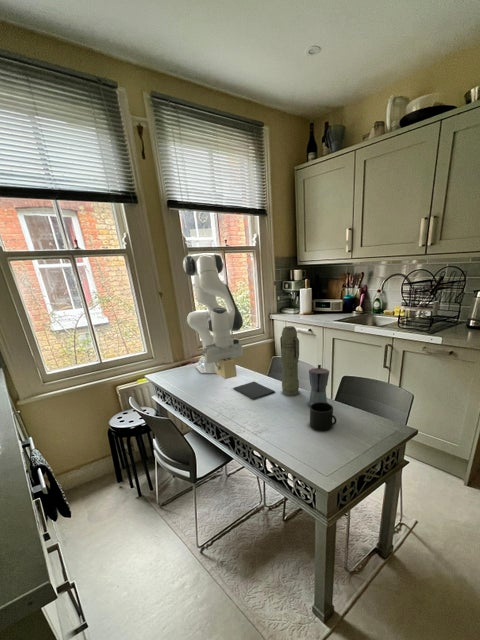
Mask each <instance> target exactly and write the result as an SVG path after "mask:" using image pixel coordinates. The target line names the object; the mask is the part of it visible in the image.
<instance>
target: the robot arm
mask: <svg viewBox="0 0 480 640" xmlns="http://www.w3.org/2000/svg"><path fill="white" fill-rule="evenodd" d="M182 267H183V270H184V272H185V274H186V275H187V276H191V277H193V282H194V290H195V291H194V292H195V298H196V301H197V302H198V303H199V304H201V305H203V306H206V308H207V309H204V310H203V309H202V310H195V311H191V312H189V313H188V314H187V317H186V322H187V325H188V326H189V328H191V329H192V330H194V331H195V332H196V333H197V334H198V336H199V337H200V340H201V344H202V356H201V357H200V358H199V360H198V362H197V363H198V365H196V367H195V368H196V369H197V370H198V371H199V373H200V374H217V373H216V370H215V366H216V369H217V370H220V366H218V365H217V364H218V362H219V361H220V360H223V359H227V358H233V359H235V360H236V359H237V358H241V357H243V355H244V351H243V346H242V341H241V339H239V338H238V337H234V336H232V333H231V332H238V331H240V329H241V328H243V325H244V319H243V316H242V314H241V312H240V310H239V309H238V306H237V303H236V301H235V299H234V296H233V294H232V292H231V290H230V287H229V286H228V284H227V283H225V282H224V281H223V280H222V279H221V277H220V274H221V273H222V272H223V269H224V260H223V258H222V255H220V254H219V253H214V252H213V253H197V254H192V255H191V254H188V255H186V256H184V258H183V261H182ZM216 297H219V298H221V299H223V300H224V302H225V304H226V307H227V309H226V308H225V307H221V306H220V305H219V303H218V301H217V298H216Z"/></svg>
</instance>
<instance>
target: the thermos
mask: <svg viewBox="0 0 480 640" xmlns="http://www.w3.org/2000/svg"><path fill="white" fill-rule="evenodd" d="M279 341H280V356H281V357H280V360H281V361H280V362H281V364H282V365H281V366H282V367H281V368H282V380H281V389H282V395H284V396H287V397H294V396H297V395H299V391H300V390H299V389H300V380H299V365H298V364H299V359H300V339H299V337H298V331H297V328H296V327H295V326H292V325H291V326H290V325H289V326H284V327H282V331H281V336H280V338H279Z"/></svg>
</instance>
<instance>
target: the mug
mask: <svg viewBox="0 0 480 640" xmlns="http://www.w3.org/2000/svg"><path fill="white" fill-rule="evenodd" d="M309 406H310V405H309ZM333 421H334V422H333ZM337 422H338V421H337V417H336V416H335V415H334V406H333V405H332V404H330V403H328V402H327V403H322V402H320V403H314V404H312V405H311V406H310V407H309V427H310V428H311V429H312V430H314V431H317V432H327V431H329V430H331V429H332V428H333V426H334V425H336V424H337Z"/></svg>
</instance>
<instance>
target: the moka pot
mask: <svg viewBox="0 0 480 640" xmlns="http://www.w3.org/2000/svg"><path fill="white" fill-rule="evenodd" d="M329 376H330V370H329V369H327V368H323V367H322V365H321V364H317V367H313V368H311V369H309V370H308V377H309V385H310V393H309V401H308V405H309V406H311V405H312V404H314V403H320V402H322V403H328V398H327V386H328V382H329Z"/></svg>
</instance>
